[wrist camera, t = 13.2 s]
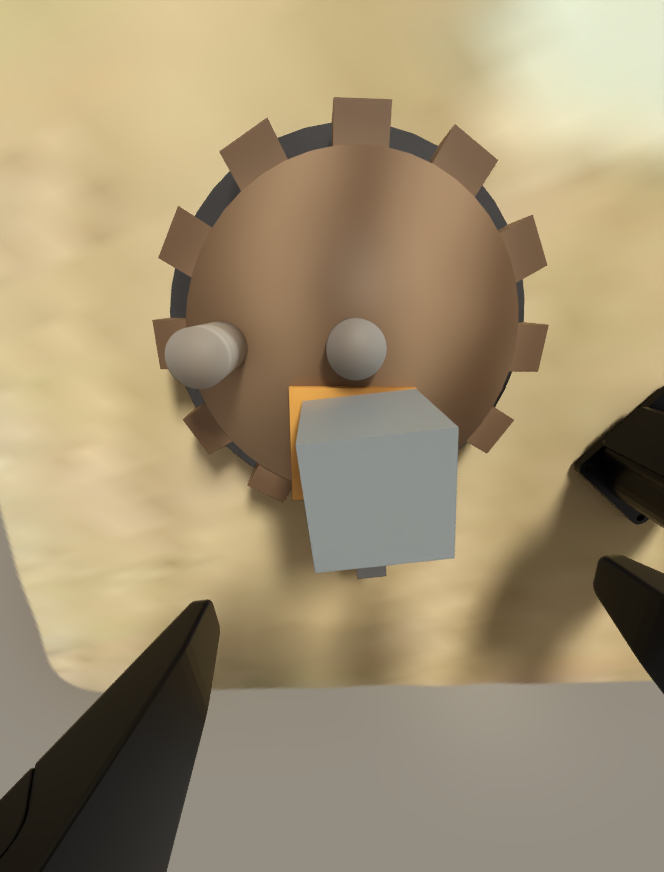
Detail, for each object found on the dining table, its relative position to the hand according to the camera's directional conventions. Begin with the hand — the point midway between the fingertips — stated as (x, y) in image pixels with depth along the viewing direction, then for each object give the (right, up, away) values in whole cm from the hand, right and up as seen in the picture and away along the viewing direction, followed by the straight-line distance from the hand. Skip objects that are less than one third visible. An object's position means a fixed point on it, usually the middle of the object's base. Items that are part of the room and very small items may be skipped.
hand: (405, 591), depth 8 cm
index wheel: (-1, +8, +9) cm, 13 cm away
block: (0, +3, +8) cm, 9 cm away
